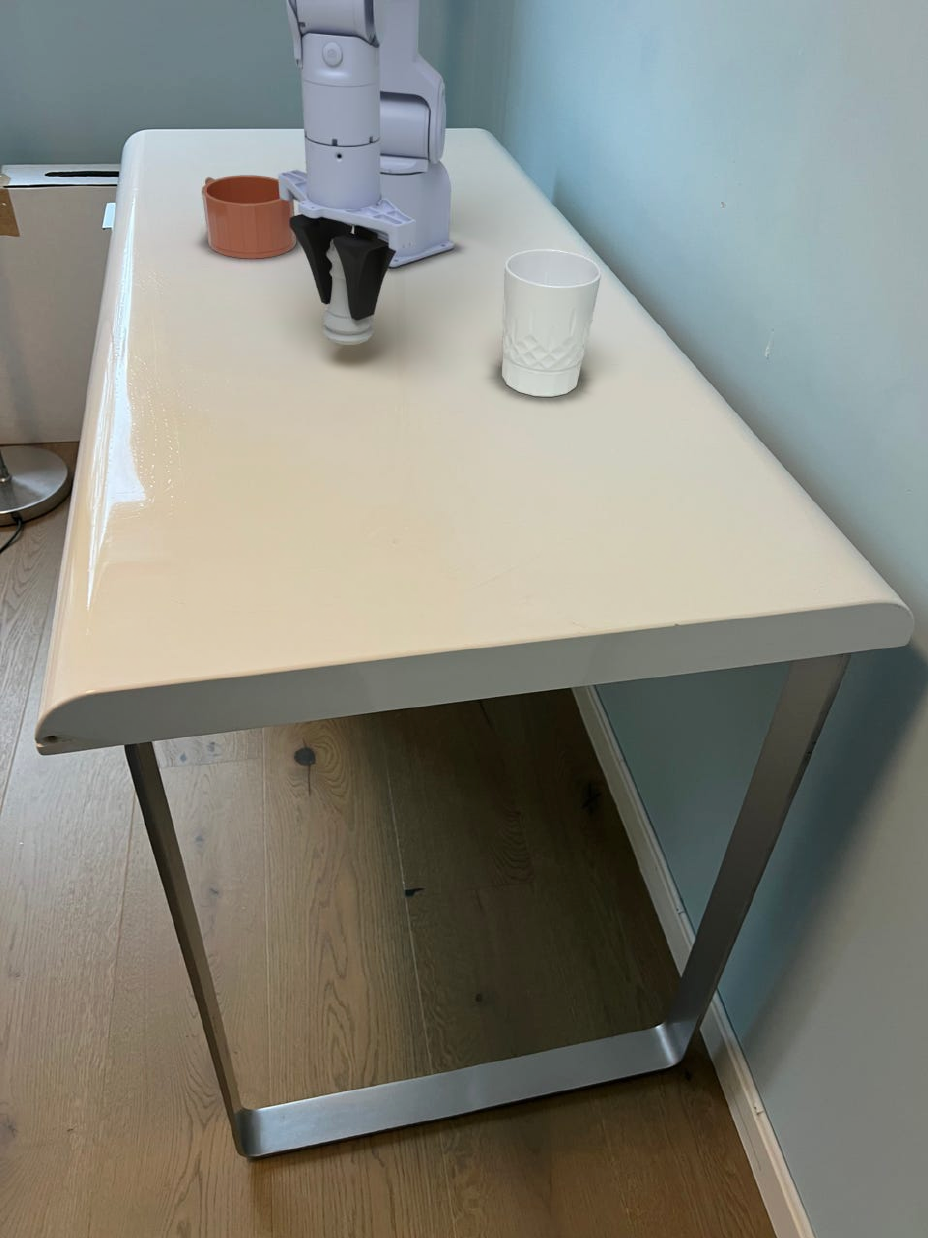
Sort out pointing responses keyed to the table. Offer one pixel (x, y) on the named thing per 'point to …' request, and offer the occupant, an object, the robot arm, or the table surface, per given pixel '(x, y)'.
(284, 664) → the table surface
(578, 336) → the white cup
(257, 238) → the mug
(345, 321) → the rook chess piece
